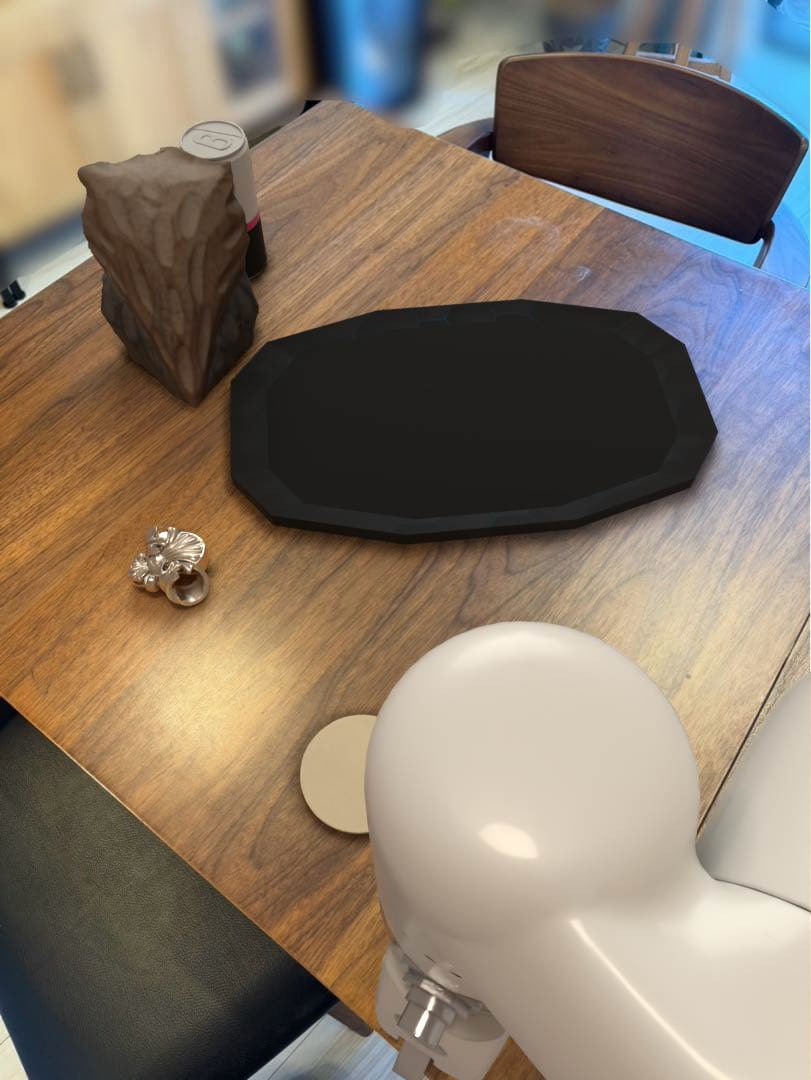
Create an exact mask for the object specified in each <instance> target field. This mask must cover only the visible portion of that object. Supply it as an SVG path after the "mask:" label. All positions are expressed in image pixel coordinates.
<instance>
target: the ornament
mask: <svg viewBox="0 0 811 1080" xmlns="http://www.w3.org/2000/svg"><path fill="white" fill-rule="evenodd" d="M142 540H143V543H144V546H145V547H144V549H145V552H144V551H141V552H140V551H139V552H138V553H137V554H136V555H135V557H134V559H133V562H132V563H131V564H130V566H129V568H128V571H127V574H126V575H127V579H128V581H129V583H130V584H131V585H132V586H135V587H137V588H144V589H145V590H146V591H147V592H151V593H156V592H158V591H159V590H160V589H161V590H162V591H163V592H164V593H165V595H166V596H167V598H168V600H169V601H170V602H172V603H173V604H177V605H178V604H180V605H181V606H185V607H190V606H192V607H193V606H194V605H197V604H199V603H200V602H202V601H203V600H204V599H205V598H206V596H207V595H208V593H209V591H210V578H209V576H208V574H207V572H206V569H207V568H208V566H209V565H208V564H209V559H210V554H209V550H208V548H207V545H206V543H205V541H204V540H203V539H202V538H201V537H200V536H198V535H197V534H195V533H193V532H190V531H189V532H188V531H187V528H185V527H179V528H175V527H174V526H172V525H171V526H167V527H166V531H165V530H164V531H160V528H159V527H158V526H156V525H153V526H151V527H150V528H148V529H147V531H146V533H145V534H144V536H143V539H142ZM180 575H190V576H194V577H196V578H195V579H194V580H193V581H192V583H190V584H187V585H179V584H175V582H176V581H177V580H179V578H180Z"/></svg>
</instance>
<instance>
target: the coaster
mask: <svg viewBox="0 0 811 1080" xmlns="http://www.w3.org/2000/svg"><path fill="white" fill-rule="evenodd" d="M376 718H377V716H376V715H371V714H353V715H349V716H345V717H342V718H339V719H337V720H334V721H332V722H330V723H329V724H327V725H325V726H324V727H323V728H322V729H320V730H319V731H318V732H317V733H316V735H315V736H314V737H313V738H312V739H311V741H310V742H309V744H308V745H307V747H306V749H305V751H304V754H303V756H302V759H301V763H300V770H299V782H300V788H301V792H302V795H303V798H304V800H305V803H306V805H307V806H308V808H309V810H310V811H311V812H312V813H313V815H314V816H315V817H316V818H317V819H318V820H320V821H321V822H322V823H323V824H324V825H326V826H328V827H330V829H333V830H335V831H338V832H341V833H346V834H350V835H369V830H368V823H367V816H366V806H365V795H364V774H365V761H366V754H367V748H368V743H369V739H370V736H371V732H372V729H373V726H374V724H375V721H376Z"/></svg>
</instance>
